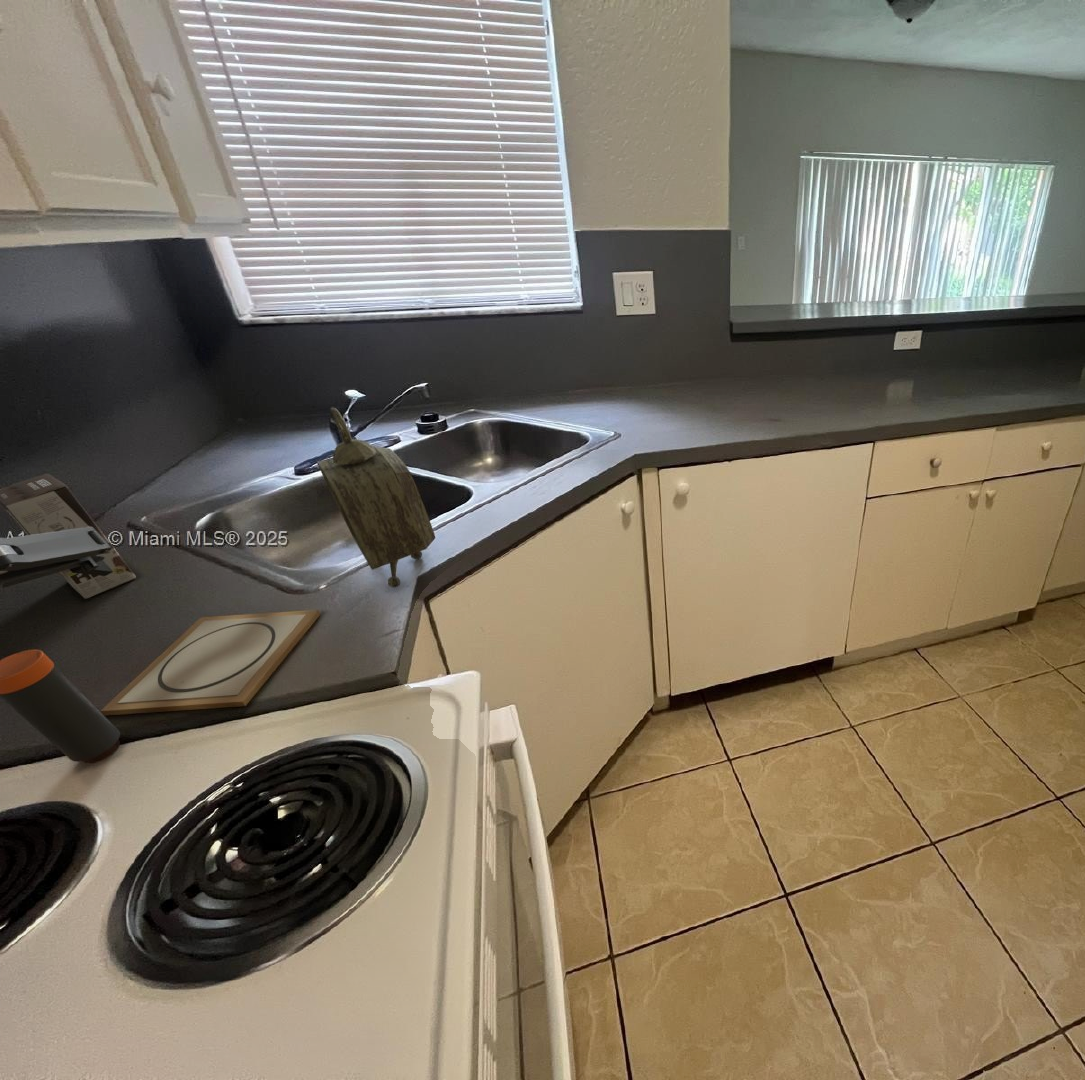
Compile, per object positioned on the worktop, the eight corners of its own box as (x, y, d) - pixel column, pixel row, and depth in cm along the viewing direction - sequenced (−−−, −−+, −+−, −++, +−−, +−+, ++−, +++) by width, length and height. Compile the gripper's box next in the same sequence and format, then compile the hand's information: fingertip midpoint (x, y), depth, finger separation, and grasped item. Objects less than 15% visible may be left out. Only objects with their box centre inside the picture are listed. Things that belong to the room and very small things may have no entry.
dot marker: (63, 770, 58) (-35, 683, 51) (99, 736, 62) (11, 650, 55) (105, 767, 58) (12, 680, 51) (137, 733, 62) (55, 647, 55)
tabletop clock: (361, 556, 89) (288, 404, 76) (420, 534, 94) (361, 387, 80) (386, 598, 80) (307, 434, 66) (450, 571, 85) (389, 413, 71)
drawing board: (104, 715, 64) (98, 710, 64) (204, 621, 78) (200, 616, 77) (245, 706, 65) (241, 700, 64) (321, 613, 78) (318, 608, 77)
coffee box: (139, 577, 87) (67, 485, 78) (84, 600, 83) (2, 506, 74) (119, 560, 92) (49, 471, 83) (66, 582, 87) (-14, 490, 78)
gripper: (-437, 790, 32) (-126, 722, 50) (92, 541, 43) (187, 561, 62) (-568, 688, 30) (-199, 657, 49) (15, 458, 42) (136, 503, 60)
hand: (17, 603), depth 55 cm, fingers open, 13 cm apart
